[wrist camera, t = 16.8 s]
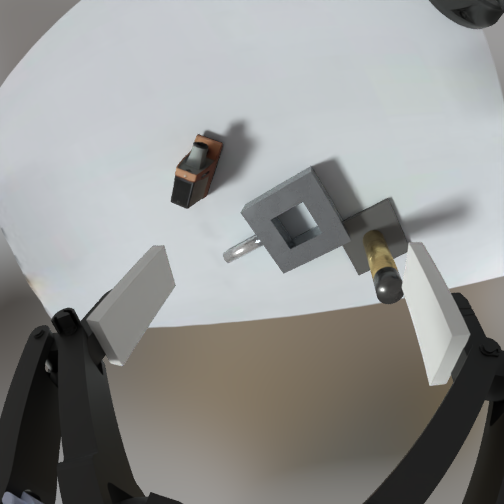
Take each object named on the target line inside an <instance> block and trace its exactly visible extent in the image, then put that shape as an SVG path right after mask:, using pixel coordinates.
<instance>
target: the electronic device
mask: <svg viewBox="0 0 504 504" xmlns="http://www.w3.org/2000/svg"><path fill="white" fill-rule="evenodd" d="M222 147H223V143H222V142H218V141H215V140H213V139H210V138H207V137H204V136H202V135H199V134H198V135H197V136H196V139H195V142H194V143H193V148H192V150H191V151H190V152H189V153H188V155H186V156H185V157H184V158H183V159H182V161H181V162H180V163H179V164H178V165H177V167H176V172H175V179H174V187H173V192H172V196H171V202H172V203H174V204H177V205H179V206H181V207H184V208H187V209H188V208H189V207H191V206H192V205H194V204H195V203H196V202H198V201H199V200H201V199H203V198H205V197H206V196H207V194H208V190H209V187H210V184H211V181H212V179H213V175H214V173H215V169H216V167H217V162H218V159H219V158H220V153H221V150H222Z"/></svg>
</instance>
